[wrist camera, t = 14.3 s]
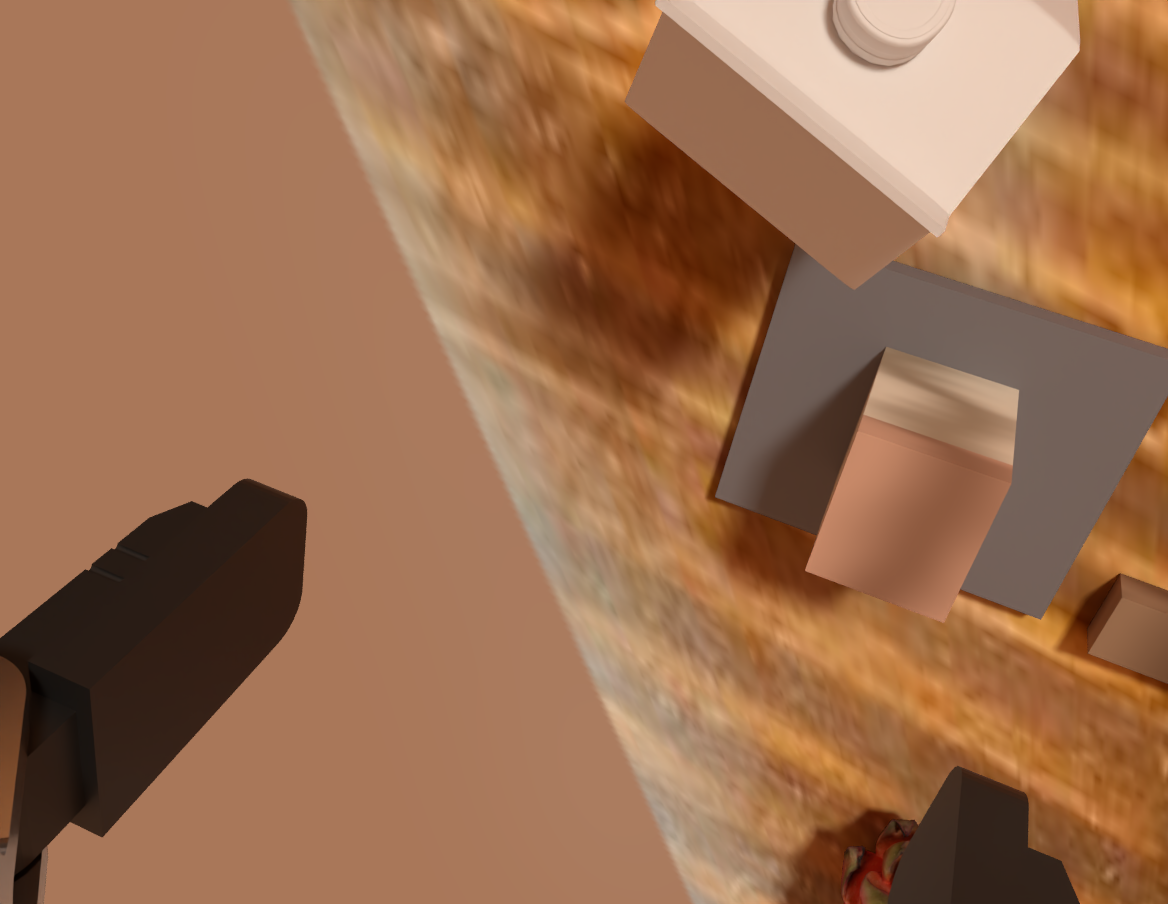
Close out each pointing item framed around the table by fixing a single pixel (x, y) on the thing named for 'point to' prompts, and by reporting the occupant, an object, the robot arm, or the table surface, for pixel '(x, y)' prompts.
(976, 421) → the pinkish tan block
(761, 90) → the milk carton
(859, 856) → the dragon fruit
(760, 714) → the table surface
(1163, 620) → the block
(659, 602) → the table surface
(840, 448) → the charcoal mat
